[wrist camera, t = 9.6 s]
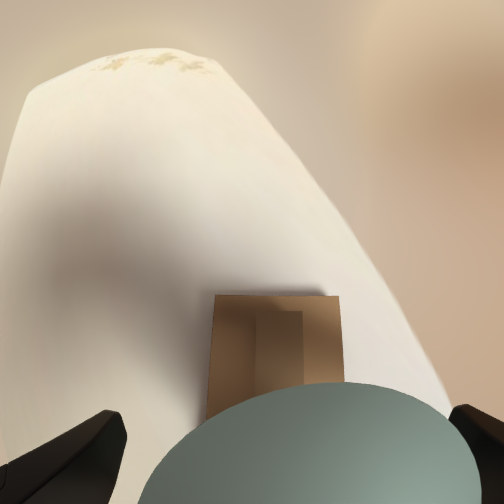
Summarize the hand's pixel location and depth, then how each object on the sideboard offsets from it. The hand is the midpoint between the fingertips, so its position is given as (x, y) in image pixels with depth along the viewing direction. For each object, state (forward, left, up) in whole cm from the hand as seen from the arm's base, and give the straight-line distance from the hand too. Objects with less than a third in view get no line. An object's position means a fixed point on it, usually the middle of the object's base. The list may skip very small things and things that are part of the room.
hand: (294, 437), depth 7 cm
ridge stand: (-1, +1, -12) cm, 12 cm away
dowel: (-1, +1, -8) cm, 8 cm away
